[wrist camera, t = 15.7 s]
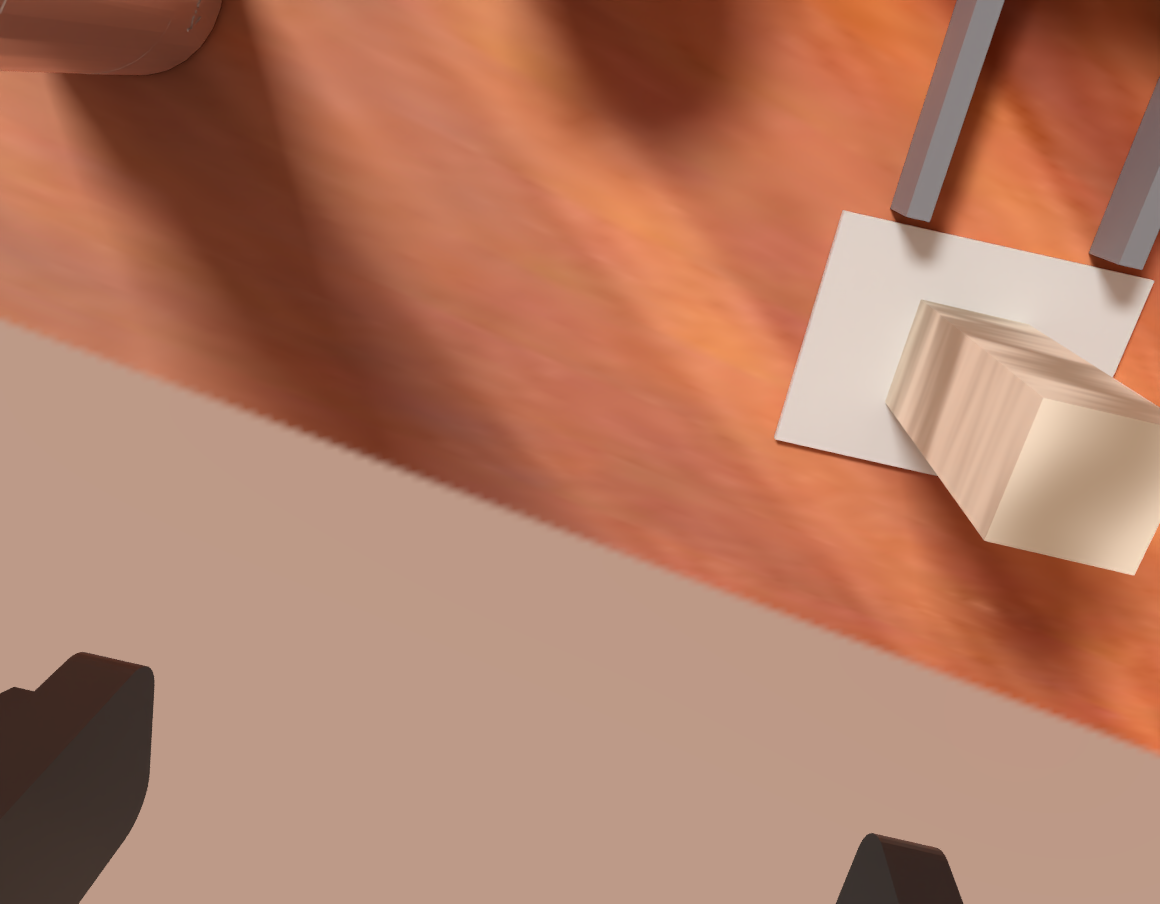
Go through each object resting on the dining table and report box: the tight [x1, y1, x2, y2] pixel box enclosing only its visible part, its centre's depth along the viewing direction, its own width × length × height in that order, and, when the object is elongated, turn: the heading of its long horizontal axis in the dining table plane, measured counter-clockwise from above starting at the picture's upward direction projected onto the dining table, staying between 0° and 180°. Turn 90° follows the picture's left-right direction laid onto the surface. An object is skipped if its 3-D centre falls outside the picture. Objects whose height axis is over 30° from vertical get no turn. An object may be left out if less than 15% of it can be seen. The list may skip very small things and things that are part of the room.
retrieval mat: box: [774, 210, 1154, 476], centre depth 44 cm, size 14×11×1 cm
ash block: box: [885, 299, 1160, 575], centre depth 37 cm, size 5×5×15 cm
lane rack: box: [890, 0, 1160, 270], centre depth 35 cm, size 16×16×10 cm
